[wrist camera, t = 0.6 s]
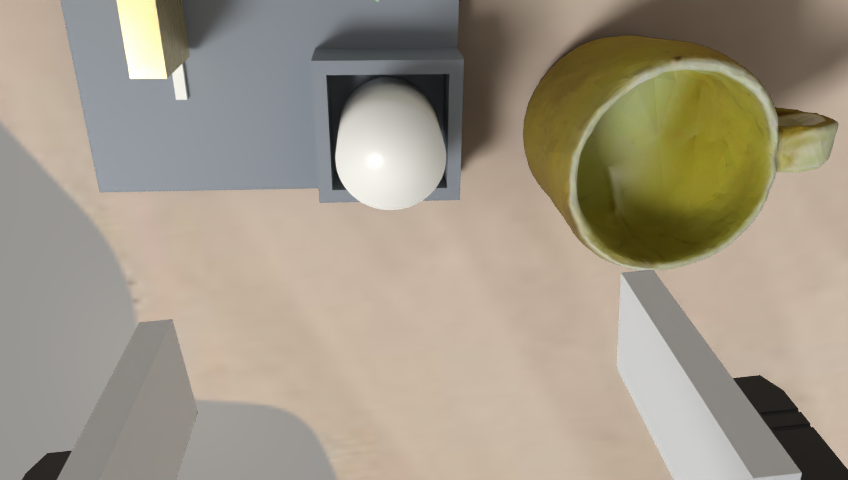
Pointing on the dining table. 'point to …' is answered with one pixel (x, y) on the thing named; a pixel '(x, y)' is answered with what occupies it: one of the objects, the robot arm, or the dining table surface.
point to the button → (389, 144)
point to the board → (259, 91)
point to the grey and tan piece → (153, 37)
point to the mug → (662, 148)
